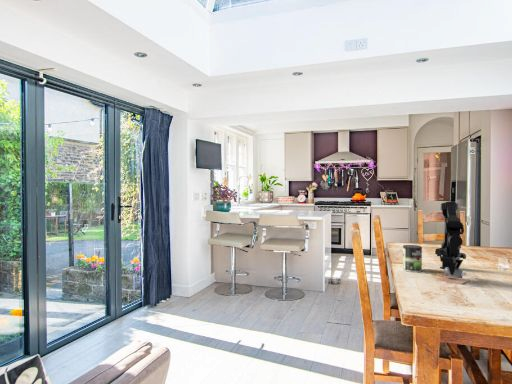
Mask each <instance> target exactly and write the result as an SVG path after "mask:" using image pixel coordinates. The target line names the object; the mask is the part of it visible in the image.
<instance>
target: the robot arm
mask: <svg viewBox="0 0 512 384" xmlns="http://www.w3.org/2000/svg"><path fill="white" fill-rule="evenodd" d="M458 210H459V203H457V202H455V201H445V202H442V203H441V204H440V211H441V214H442V216H443V217H444V235H443V236H444V237H443V238H444V239H443V241H442V243H441V245H440V246H441V247H439V248H435V252H434V254H435V255H436V257H439V258H440V262H441V266H440V267H439V269H442V270H443V269H444V270H445V267H448V268H449V271H450V274H451V275H453V274H454V271H455V268H457V269H460V267H461V266H462V263H463V262H464V260H466V259H467V254H466V253H464V252H460V251H461V249H462V245H463V243H464V242H463V241H464V240H463V238H462V237H461V235H464V233H465V228H464V224H463V222H462V221H461V218H460V217H458V215H457V212H458Z"/></svg>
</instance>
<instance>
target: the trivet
mask: <svg viewBox="0 0 512 384" xmlns="http://www.w3.org/2000/svg"><path fill="white" fill-rule="evenodd" d="M436 281H439V282H440V281H441V282H446V283H450V284H457V285H464V284H466V283H467V282H470V281H471V278H466V277H465V278H464V277H462V278H455V277H449V276H445V275H443V276H441V277H438V278H436Z"/></svg>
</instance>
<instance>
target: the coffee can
mask: <svg viewBox="0 0 512 384" xmlns="http://www.w3.org/2000/svg"><path fill="white" fill-rule="evenodd" d="M402 249H403V250H402V270H403V271H405V272H409V273H420V272H422V270H423V269H422V268H423V267H422V266H423V263H422V261H423V257H422V256H423V246H421V245H415V244H404V245H403V246H402Z"/></svg>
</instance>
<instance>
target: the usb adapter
mask: <svg viewBox="0 0 512 384" xmlns="http://www.w3.org/2000/svg"><path fill="white" fill-rule="evenodd" d="M444 276H449V277H455V278H464V277H466V276H467V272H464V270H463V269H461V268H459V269H457V268H455V271H454V274H453V275H451V274H450V271H449V268H448V267H445V269H444Z"/></svg>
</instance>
